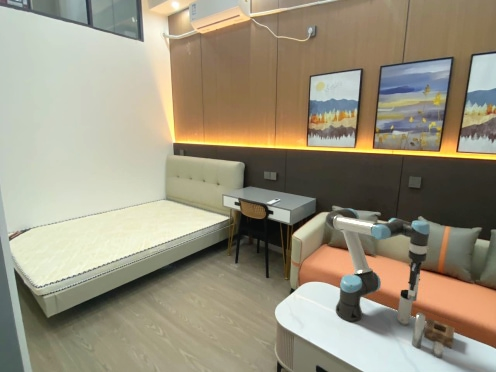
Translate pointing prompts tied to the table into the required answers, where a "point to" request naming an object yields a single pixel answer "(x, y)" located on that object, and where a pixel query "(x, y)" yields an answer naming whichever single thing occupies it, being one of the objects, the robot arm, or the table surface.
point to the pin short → (438, 349)
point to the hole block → (439, 332)
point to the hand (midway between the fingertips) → (412, 293)
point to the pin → (414, 298)
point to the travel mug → (404, 308)
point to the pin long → (418, 330)
